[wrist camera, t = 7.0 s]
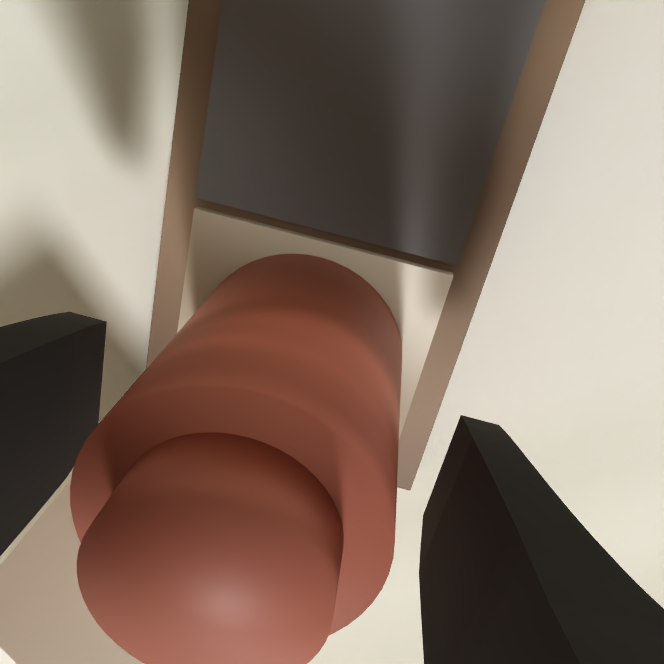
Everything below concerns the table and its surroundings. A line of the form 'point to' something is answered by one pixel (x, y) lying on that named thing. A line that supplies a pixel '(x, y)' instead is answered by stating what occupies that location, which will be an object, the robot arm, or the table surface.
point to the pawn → (248, 473)
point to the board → (358, 158)
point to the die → (49, 595)
